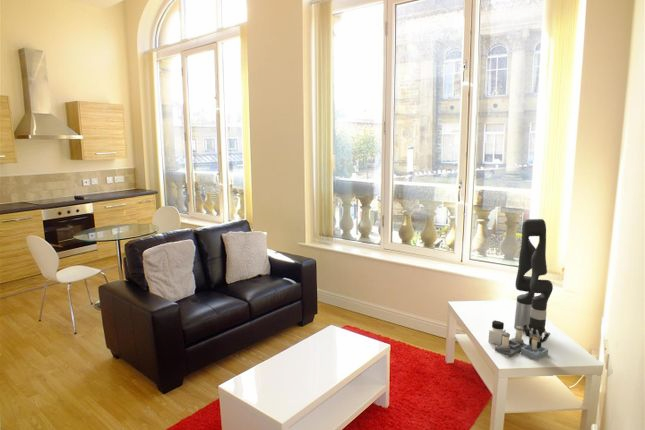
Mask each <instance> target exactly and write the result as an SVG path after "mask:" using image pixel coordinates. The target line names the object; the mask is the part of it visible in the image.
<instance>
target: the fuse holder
mask: <svg viewBox="0 0 645 430" xmlns="http://www.w3.org/2000/svg"><path fill="white" fill-rule="evenodd" d="M510 335H511V334H510V333H509V332H506V331H505V332H503V337H502V344H500V345H498V344H497V345H496V346H495V347H494V351H495V352H497V353H499V354H502V355H504V356H506V357H509V358H512V357H514V356H516V355H517V354H519V353H521V348H522V347H524V346H526V345H528V343H525V342H524V339H523V327H521V326H516V329H515V334H514V335H515V337H514V338H510Z"/></svg>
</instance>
